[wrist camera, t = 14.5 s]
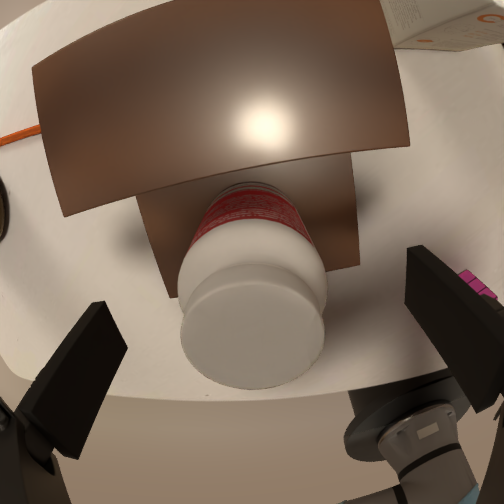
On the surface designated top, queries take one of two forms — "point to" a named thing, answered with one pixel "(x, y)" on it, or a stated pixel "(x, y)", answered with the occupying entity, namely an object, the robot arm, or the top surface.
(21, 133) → the pencil
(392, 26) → the small box
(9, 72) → the top surface
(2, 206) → the lamp
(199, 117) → the shelf
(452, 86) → the top surface
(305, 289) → the pill bottle
